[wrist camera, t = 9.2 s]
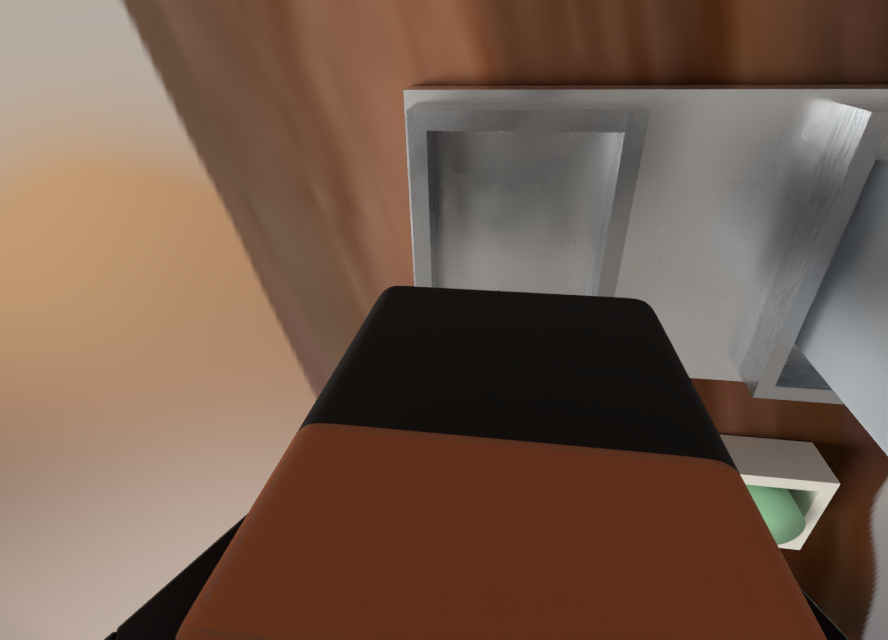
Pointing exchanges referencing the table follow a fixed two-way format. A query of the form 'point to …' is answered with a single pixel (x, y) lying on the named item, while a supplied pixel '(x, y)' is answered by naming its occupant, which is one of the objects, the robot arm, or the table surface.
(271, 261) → the table surface
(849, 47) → the table surface
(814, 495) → the button housing
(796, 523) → the button
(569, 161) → the grey metal tray
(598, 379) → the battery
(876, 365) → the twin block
